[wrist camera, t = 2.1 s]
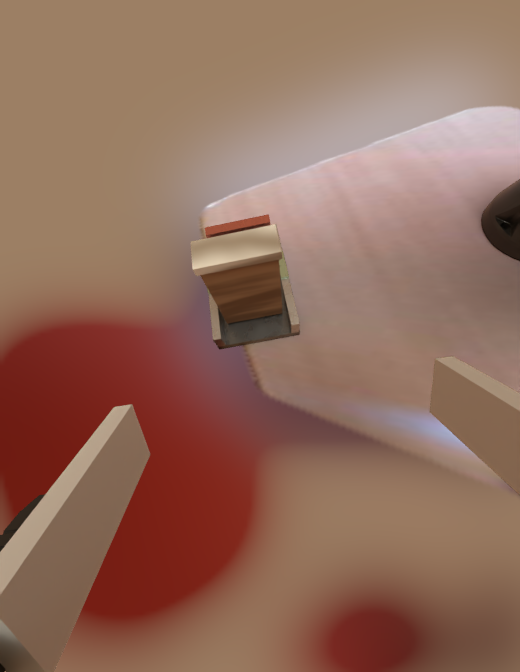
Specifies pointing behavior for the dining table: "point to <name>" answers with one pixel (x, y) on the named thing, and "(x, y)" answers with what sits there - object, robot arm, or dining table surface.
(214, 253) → the brown wooden tall block
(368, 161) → the dining table surface
